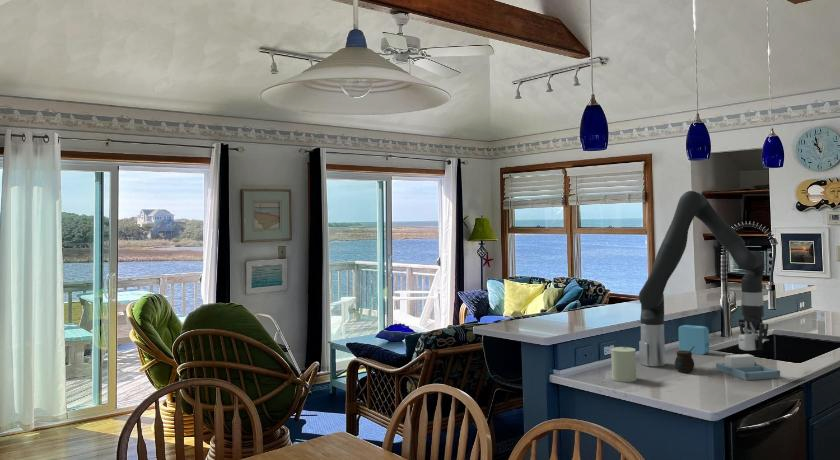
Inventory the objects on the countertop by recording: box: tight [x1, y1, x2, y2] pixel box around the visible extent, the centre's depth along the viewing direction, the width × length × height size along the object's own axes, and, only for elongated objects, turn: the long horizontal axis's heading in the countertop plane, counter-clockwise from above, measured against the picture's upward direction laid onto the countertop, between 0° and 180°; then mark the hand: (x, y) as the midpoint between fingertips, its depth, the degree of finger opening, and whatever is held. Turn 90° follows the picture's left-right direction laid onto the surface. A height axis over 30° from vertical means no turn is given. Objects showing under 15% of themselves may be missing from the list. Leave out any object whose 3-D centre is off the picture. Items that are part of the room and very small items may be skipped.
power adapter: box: [738, 333, 770, 352], centre depth 241 cm, size 11×5×6 cm, turn 104°
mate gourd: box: [674, 346, 695, 374], centre depth 252 cm, size 7×8×10 cm
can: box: [610, 346, 637, 383], centre depth 243 cm, size 9×9×12 cm
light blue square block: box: [678, 324, 710, 356], centre depth 286 cm, size 12×4×12 cm, turn 41°
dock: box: [715, 353, 781, 381], centre depth 245 cm, size 14×18×6 cm
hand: (753, 348), depth 241 cm, fingers closed on power adapter, 5 cm apart
